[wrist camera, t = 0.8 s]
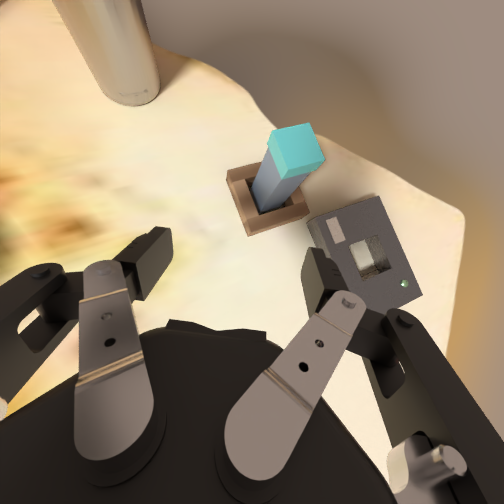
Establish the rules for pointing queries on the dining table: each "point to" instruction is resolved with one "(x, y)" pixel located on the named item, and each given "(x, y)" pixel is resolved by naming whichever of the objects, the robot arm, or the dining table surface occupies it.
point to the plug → (285, 165)
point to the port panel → (381, 248)
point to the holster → (246, 207)
